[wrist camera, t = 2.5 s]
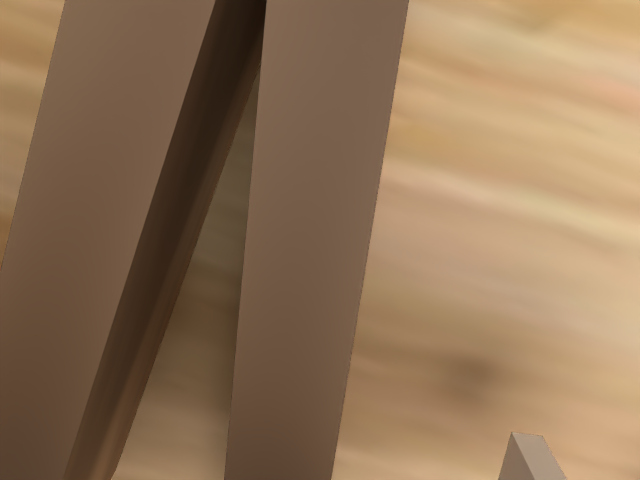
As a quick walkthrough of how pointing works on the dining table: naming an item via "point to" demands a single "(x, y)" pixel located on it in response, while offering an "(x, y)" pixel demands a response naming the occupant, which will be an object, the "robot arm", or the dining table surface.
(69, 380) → the tong arm
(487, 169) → the dining table surface
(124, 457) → the dining table surface
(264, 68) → the base
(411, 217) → the dining table surface
